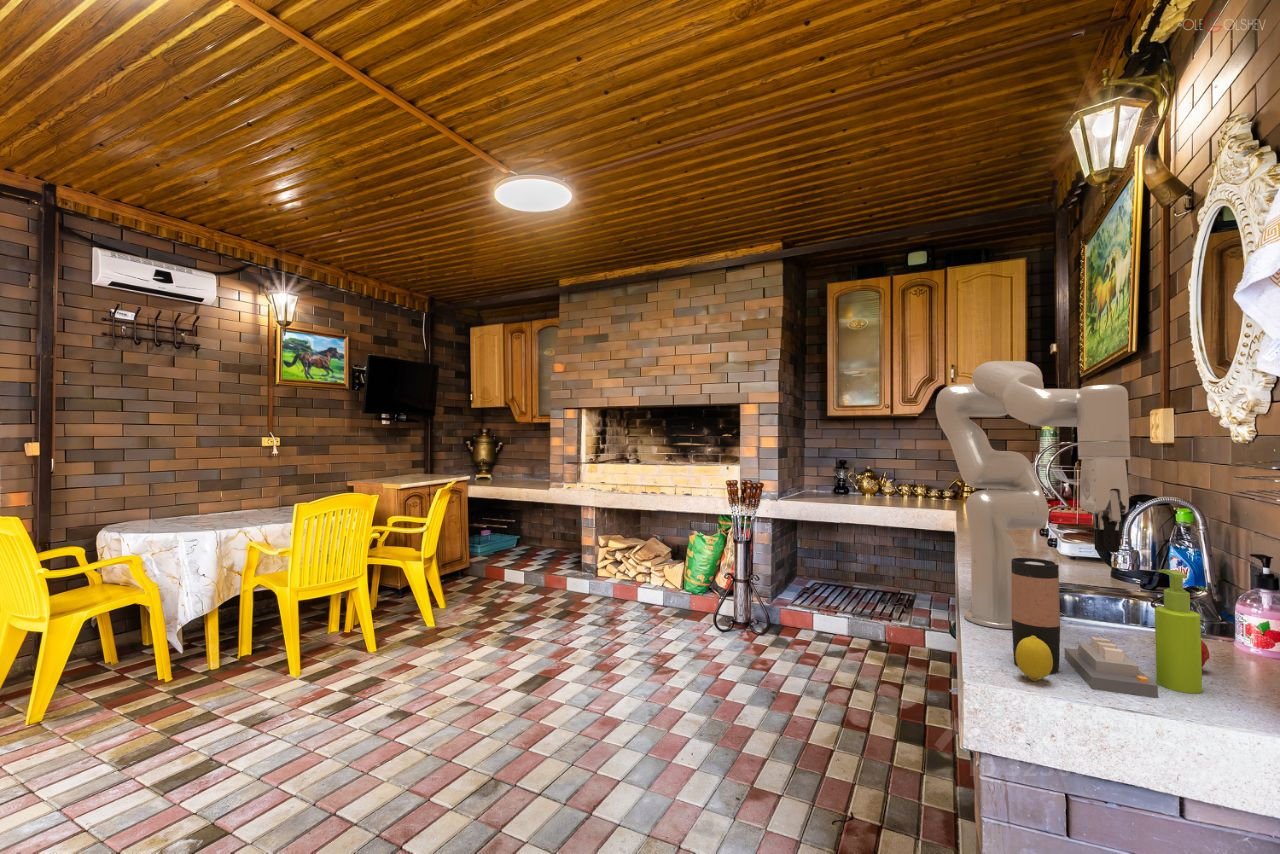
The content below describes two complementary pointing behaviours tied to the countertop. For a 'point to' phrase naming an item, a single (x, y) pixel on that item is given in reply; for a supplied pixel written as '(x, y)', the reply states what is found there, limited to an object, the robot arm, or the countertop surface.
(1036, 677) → the lemon
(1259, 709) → the countertop surface
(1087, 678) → the breaker panel
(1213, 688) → the countertop surface
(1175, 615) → the soap dispenser
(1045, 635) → the travel mug
